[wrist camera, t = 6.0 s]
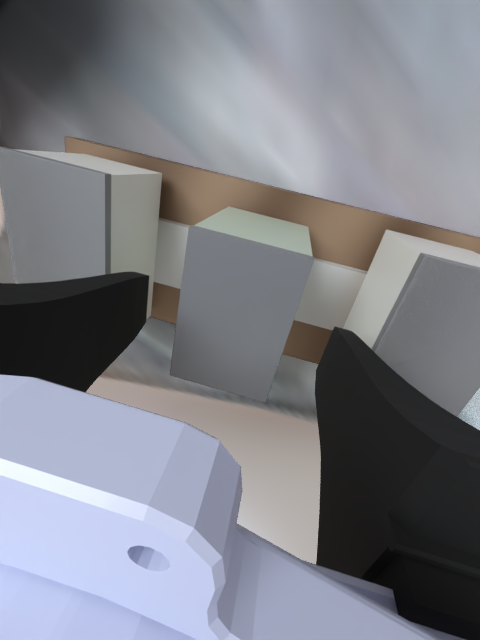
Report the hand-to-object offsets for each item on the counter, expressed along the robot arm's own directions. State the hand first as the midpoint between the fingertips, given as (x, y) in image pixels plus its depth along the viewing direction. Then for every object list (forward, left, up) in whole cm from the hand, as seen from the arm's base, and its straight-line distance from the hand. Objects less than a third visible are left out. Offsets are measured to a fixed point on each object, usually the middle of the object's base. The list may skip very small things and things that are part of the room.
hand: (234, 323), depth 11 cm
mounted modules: (0, 0, -5) cm, 5 cm away
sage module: (0, 0, -5) cm, 5 cm away
